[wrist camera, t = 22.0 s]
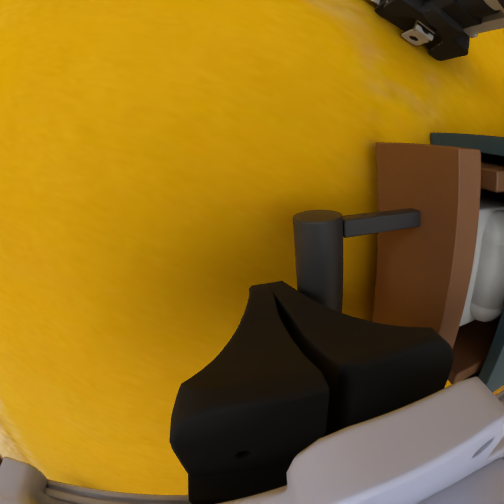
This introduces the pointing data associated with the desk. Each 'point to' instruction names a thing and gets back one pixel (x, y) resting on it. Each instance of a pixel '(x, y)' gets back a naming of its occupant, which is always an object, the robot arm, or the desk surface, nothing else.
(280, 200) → the desk surface
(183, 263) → the desk surface
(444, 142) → the cabinet
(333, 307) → the drawer
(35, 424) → the desk surface
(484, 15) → the push button
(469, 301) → the capsule relief tile
